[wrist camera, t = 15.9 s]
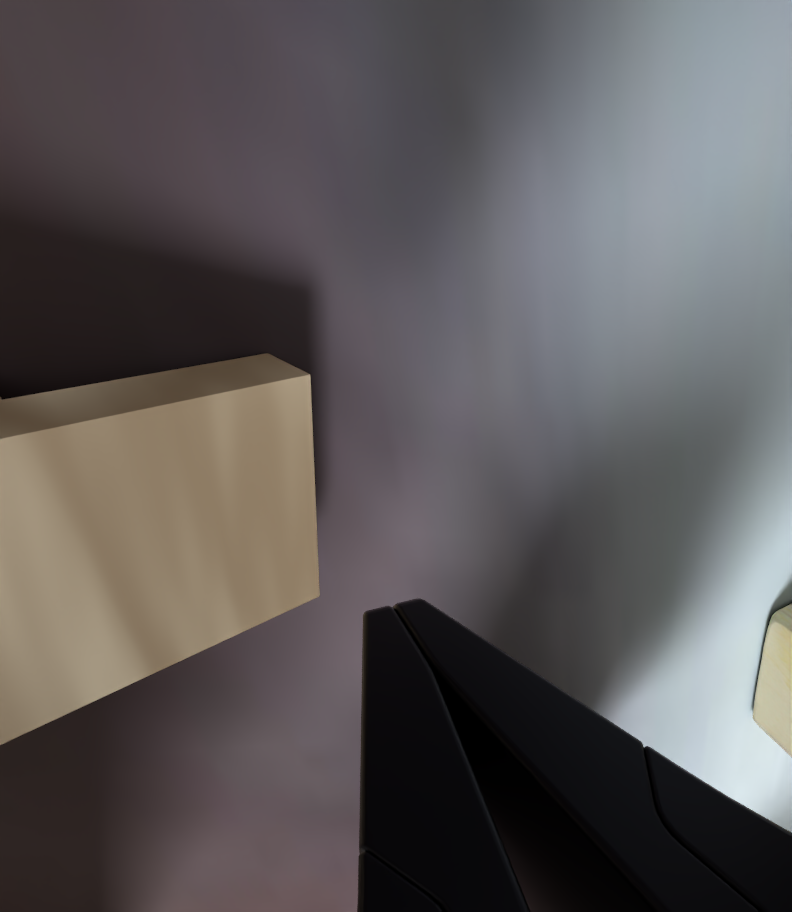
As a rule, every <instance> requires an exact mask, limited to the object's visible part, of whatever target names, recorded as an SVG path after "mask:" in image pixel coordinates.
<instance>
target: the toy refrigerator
mask: <svg viewBox="0 0 792 912" xmlns="http://www.w3.org/2000/svg"><path fill="white" fill-rule="evenodd" d="M753 719H754V721H755V722H756V723H757V725H758V726H759V727H760V728H761V729H762V730H763V731H764V732H765V733H766V734H767V735H769V736H770V737H771V738H772V739H773V740H774V741H775V742H776V743H777V744H778V745H779V746H780V747H781V748H783V749H784V750H785V751H786V752H787V753H788V754H789V755H790V756H791V757H792V604H790V605H788V606H786V607H784V608H782V609H780V610H778V611H776V612H775V613H774V614H773V615H772V618H771V620H770V623H769V626H768V629H767V633H766V638H765V642H764V647H763V654H762V660H761V666H760V671H759V676H758V682H757V688H756V693H755V701H754V708H753Z"/></svg>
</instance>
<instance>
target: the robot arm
mask: <svg viewBox="0 0 792 912" xmlns="http://www.w3.org/2000/svg"><path fill="white" fill-rule="evenodd" d="M359 851H360V855H359V866H358V906H357V912H792V833H791V832H789V831H787V830H786V829H784V828H782V827H780V826H779V825H777V824H775V823H773V822H772V821H770V820H768V819H766V818H765V817H763V816H761V815H759V814H758V813H756V812H754V811H752V810H751V809H749V808H747V807H745V806H744V805H742V804H740V803H738V802H737V801H735V800H733V799H731V798H730V797H728V796H726V795H725V794H723V793H721V792H720V791H718V790H717V789H715V788H713V787H712V786H710V785H709V784H707V783H705V782H704V781H702V780H701V779H699V778H697V777H696V776H694V775H693V774H691V773H689V772H688V771H686V770H685V769H683V768H681V767H680V766H678V765H677V764H675V763H674V762H672V761H671V760H669V759H667V758H666V757H664V756H663V755H661V754H660V753H658V752H657V751H655V750H654V749H652V748H651V747H648V746H646V747H643V744H642V742H641V741H639V740H638V739H636V738H635V737H633V736H632V735H630V734H629V733H627V732H626V731H624V730H623V729H621V728H620V727H618V726H616V725H615V724H613V723H612V722H610V721H609V720H607V719H606V718H604V717H603V716H601V715H600V714H598V713H597V712H595V711H593V710H592V709H590V708H589V707H587V706H586V705H584V704H583V703H581V702H580V701H578V700H577V699H575V698H574V697H572V696H570V695H569V694H567V693H566V692H564V691H563V690H561V689H560V688H558V687H557V686H555V685H554V684H552V683H551V682H549V681H548V680H546V679H544V678H543V677H541V676H540V675H538V674H537V673H535V672H534V671H532V670H531V669H529V668H528V667H526V666H525V665H523V664H521V663H520V662H518V661H517V660H515V659H514V658H512V657H511V656H509V655H508V654H506V653H505V652H503V651H502V650H500V649H498V648H497V647H495V646H494V645H492V644H491V643H489V642H488V641H486V640H485V639H483V638H482V637H480V636H479V635H477V634H475V633H474V632H472V631H471V630H469V629H468V628H466V627H465V626H463V625H462V624H460V623H459V622H457V621H456V620H454V619H453V618H451V617H449V616H448V615H446V614H445V613H443V612H442V611H440V610H439V609H437V608H436V607H434V606H433V605H431V604H430V603H428V602H426V601H425V600H423V599H413V600H409V601H405V602H401V603H397V604H395V605H394V606H393V607H390V606H385V607H381V608H377V609H373V610H369V611H366V612H365V613H364V615H363V648H362V709H361V769H360V829H359Z"/></svg>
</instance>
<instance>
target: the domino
mask: <svg viewBox="0 0 792 912" xmlns="http://www.w3.org/2000/svg"><path fill="white" fill-rule="evenodd" d="M319 596H320V593H319V569H318V545H317V521H316V497H315V473H314V449H313V426H312V402H311V378H310V374H308V373H306V372H304V371H302V370H300V369H298V368H296V367H294V366H292V365H290V364H288V363H286V362H284V361H282V360H280V359H278V358H276V357H274V356H272V355H270V354H268V353H266V354H260V355H255V356H249V357H243V358H237V359H232V360H226V361H220V362H215V363H209V364H203V365H197V366H192V367H186V368H180V369H175V370H169V371H163V372H157V373H152V374H146V375H140V376H135V377H129V378H123V379H118V380H112V381H106V382H100V383H95V384H89V385H83V386H78V387H72V388H66V389H60V390H55V391H49V392H43V393H38V394H32V395H26V396H20V397H15V398H9V399H3V400H0V745H1V744H4V743H6V742H8V741H10V740H12V739H14V738H16V737H19V736H21V735H23V734H25V733H27V732H29V731H31V730H34V729H36V728H38V727H40V726H42V725H44V724H47V723H49V722H51V721H53V720H55V719H57V718H59V717H62V716H64V715H66V714H68V713H70V712H72V711H74V710H77V709H79V708H81V707H83V706H85V705H87V704H89V703H92V702H94V701H96V700H98V699H100V698H102V697H104V696H107V695H109V694H111V693H113V692H115V691H117V690H119V689H122V688H124V687H126V686H128V685H130V684H132V683H134V682H137V681H139V680H141V679H143V678H145V677H147V676H149V675H152V674H154V673H156V672H158V671H160V670H162V669H164V668H167V667H169V666H171V665H173V664H175V663H177V662H179V661H182V660H184V659H186V658H188V657H190V656H192V655H194V654H197V653H199V652H201V651H203V650H205V649H207V648H209V647H212V646H214V645H216V644H218V643H220V642H222V641H224V640H227V639H229V638H231V637H233V636H235V635H237V634H240V633H242V632H244V631H246V630H248V629H250V628H252V627H255V626H257V625H259V624H261V623H263V622H265V621H267V620H270V619H272V618H274V617H276V616H278V615H280V614H282V613H285V612H287V611H289V610H291V609H293V608H295V607H297V606H300V605H302V604H304V603H306V602H308V601H310V600H312V599H315V598H317V597H319Z"/></svg>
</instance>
